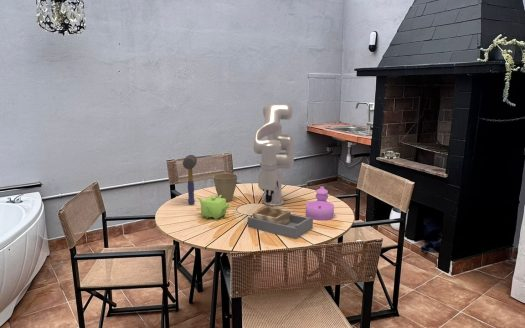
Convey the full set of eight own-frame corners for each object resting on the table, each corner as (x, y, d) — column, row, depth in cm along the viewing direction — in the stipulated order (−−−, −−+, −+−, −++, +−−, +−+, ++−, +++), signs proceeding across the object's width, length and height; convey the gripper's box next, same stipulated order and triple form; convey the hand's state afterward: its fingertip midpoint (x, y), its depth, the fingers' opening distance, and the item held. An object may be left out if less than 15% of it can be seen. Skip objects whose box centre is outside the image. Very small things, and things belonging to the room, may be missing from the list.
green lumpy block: (197, 214, 210) (196, 195, 208) (221, 211, 216) (220, 192, 214) (205, 222, 197) (205, 202, 195) (230, 218, 203) (230, 198, 201)
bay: (247, 226, 191) (247, 215, 190) (266, 217, 205) (266, 207, 204) (295, 238, 176) (296, 226, 175) (312, 228, 190) (312, 216, 189)
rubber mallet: (186, 201, 235) (184, 153, 229) (198, 201, 235) (197, 153, 229) (183, 207, 223) (181, 157, 217) (196, 207, 223) (194, 157, 217)
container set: (332, 221, 200) (333, 197, 197) (304, 219, 203) (304, 195, 201) (334, 207, 224) (335, 186, 221) (309, 205, 227) (309, 184, 224)
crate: (252, 224, 191) (252, 213, 190) (267, 216, 203) (267, 206, 202) (276, 230, 184) (276, 218, 182) (290, 221, 195) (290, 211, 194)
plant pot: (209, 200, 237) (208, 175, 234) (228, 195, 247) (227, 172, 244) (223, 205, 227) (222, 179, 223) (242, 200, 236) (242, 176, 233)
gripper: (252, 166, 190) (252, 201, 194) (277, 170, 182) (277, 206, 186) (260, 163, 196) (260, 197, 200) (285, 167, 188) (285, 202, 192)
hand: (268, 201), depth 193 cm, fingers closed
